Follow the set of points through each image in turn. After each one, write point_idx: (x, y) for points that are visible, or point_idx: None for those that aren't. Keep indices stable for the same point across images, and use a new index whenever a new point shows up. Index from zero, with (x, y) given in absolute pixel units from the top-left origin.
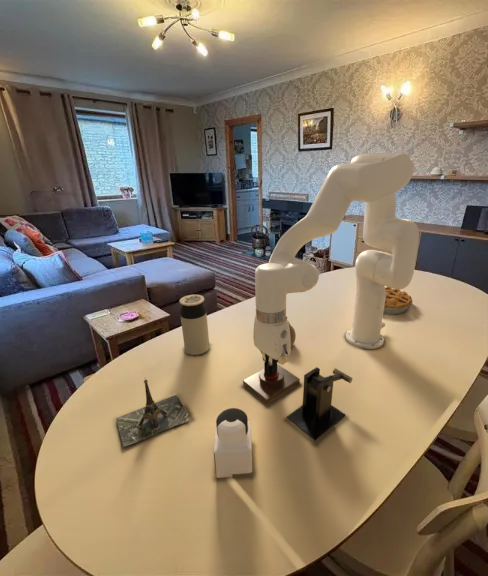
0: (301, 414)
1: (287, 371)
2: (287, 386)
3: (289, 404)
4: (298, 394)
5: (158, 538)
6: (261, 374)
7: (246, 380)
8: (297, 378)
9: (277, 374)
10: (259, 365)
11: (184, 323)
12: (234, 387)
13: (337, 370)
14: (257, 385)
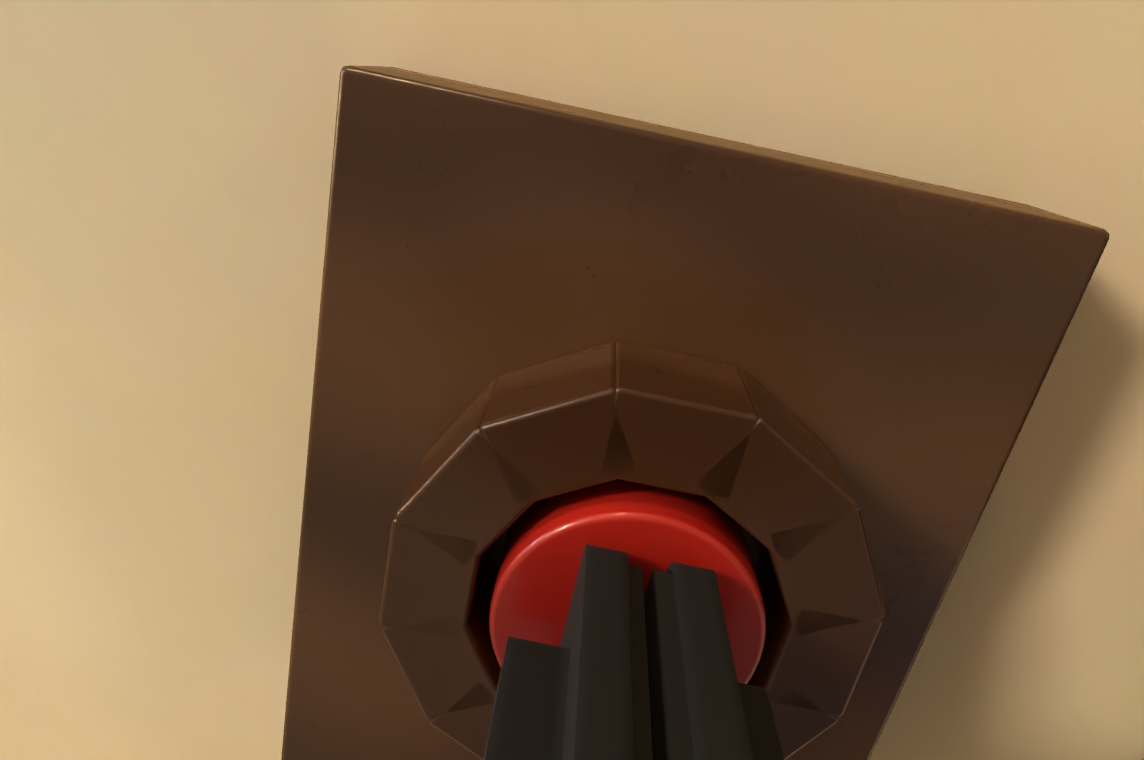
0: None
1: (761, 178)
2: (968, 539)
3: (1038, 620)
4: (1091, 402)
5: None
6: (474, 714)
7: (322, 749)
8: (1062, 251)
9: (754, 598)
10: (107, 173)
11: None
12: (251, 734)
13: None
14: None
